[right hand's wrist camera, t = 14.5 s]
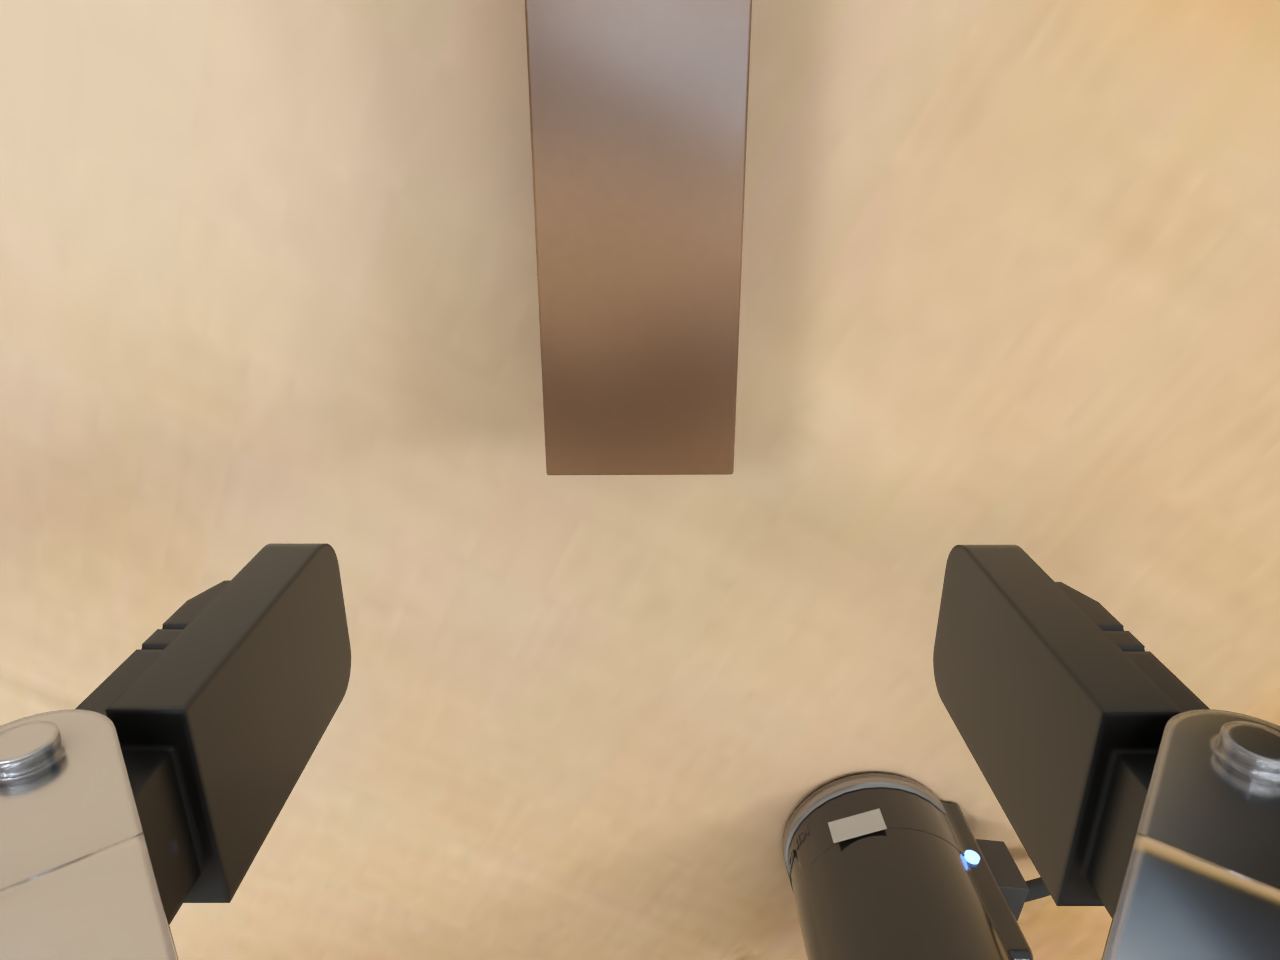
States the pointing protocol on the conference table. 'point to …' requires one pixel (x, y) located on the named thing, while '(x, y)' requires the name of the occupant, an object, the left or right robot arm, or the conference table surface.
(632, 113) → the box
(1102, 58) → the conference table surface
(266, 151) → the conference table surface
